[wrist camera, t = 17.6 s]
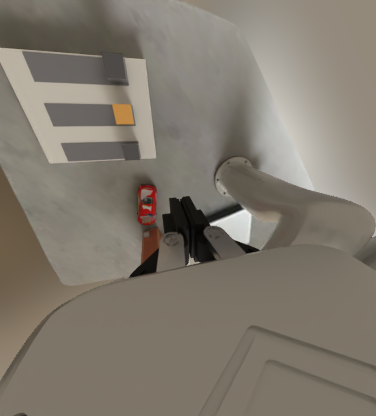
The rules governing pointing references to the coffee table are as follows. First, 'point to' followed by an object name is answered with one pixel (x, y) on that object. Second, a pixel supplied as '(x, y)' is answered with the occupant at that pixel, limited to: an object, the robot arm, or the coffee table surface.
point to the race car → (147, 204)
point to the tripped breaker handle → (123, 113)
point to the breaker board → (82, 103)
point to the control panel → (150, 243)
